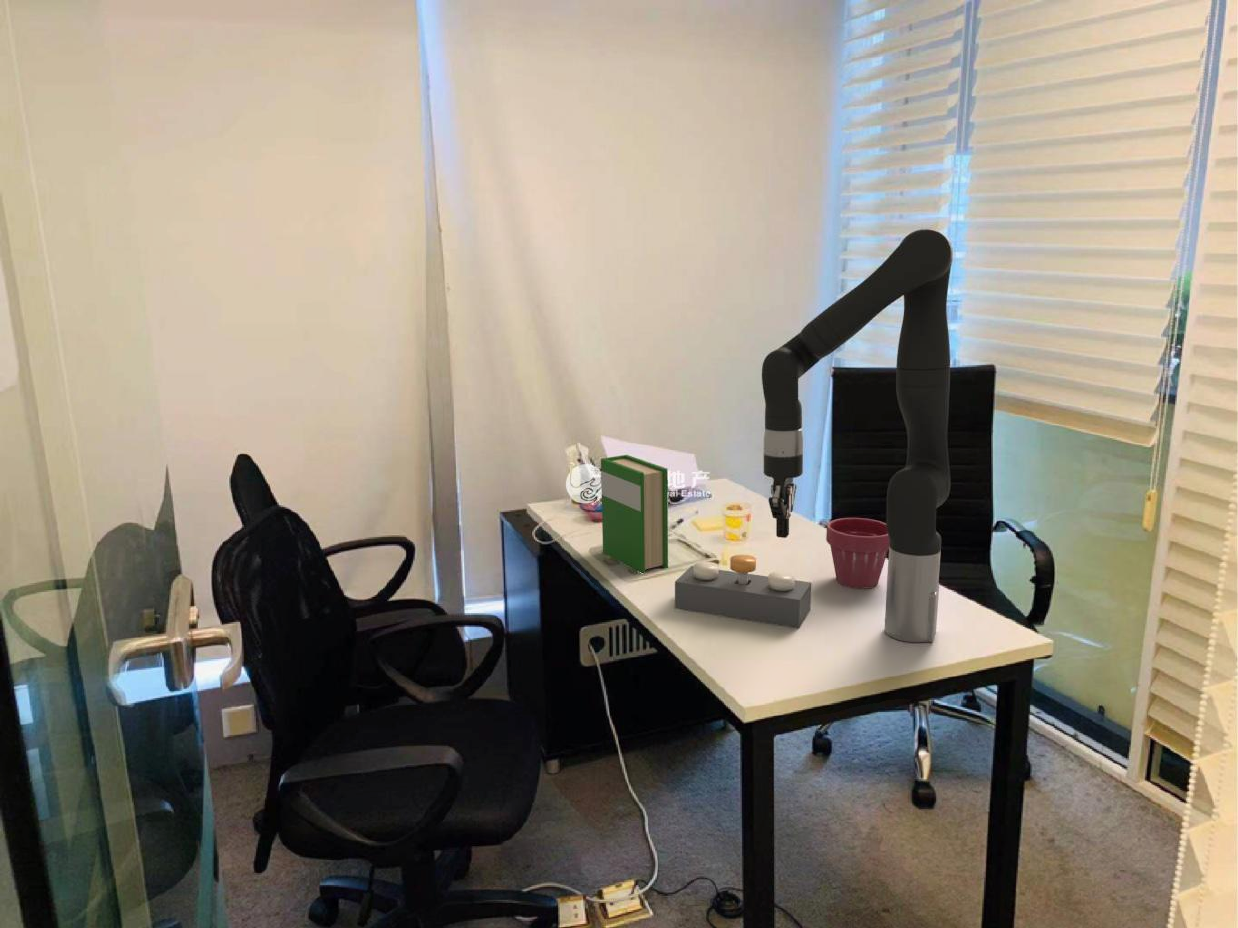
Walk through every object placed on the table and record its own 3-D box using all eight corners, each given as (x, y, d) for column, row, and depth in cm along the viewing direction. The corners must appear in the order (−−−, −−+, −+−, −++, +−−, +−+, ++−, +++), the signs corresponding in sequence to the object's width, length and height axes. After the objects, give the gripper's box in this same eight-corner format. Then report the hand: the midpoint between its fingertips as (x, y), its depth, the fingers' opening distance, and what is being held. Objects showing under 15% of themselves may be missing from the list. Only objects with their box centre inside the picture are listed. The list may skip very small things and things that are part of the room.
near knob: (796, 606, 179) (797, 573, 178) (790, 615, 175) (791, 582, 173) (771, 602, 181) (772, 570, 180) (764, 611, 177) (765, 579, 175)
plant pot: (897, 576, 198) (900, 522, 195) (881, 597, 187) (884, 540, 184) (835, 566, 205) (837, 513, 202) (816, 585, 194) (818, 530, 191)
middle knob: (758, 588, 182) (759, 556, 180) (751, 597, 177) (751, 564, 176) (734, 585, 184) (734, 553, 182) (726, 593, 180) (726, 561, 178)
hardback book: (668, 567, 207) (667, 468, 201) (641, 574, 203) (640, 473, 197) (628, 547, 221) (626, 454, 216) (602, 552, 217) (600, 458, 212)
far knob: (721, 594, 186) (721, 563, 184) (713, 603, 181) (713, 571, 180) (698, 591, 188) (698, 560, 186) (689, 600, 183) (689, 568, 182)
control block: (810, 609, 181) (811, 582, 179) (798, 628, 172) (799, 599, 171) (691, 591, 191) (691, 565, 190) (675, 608, 183) (674, 581, 181)
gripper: (794, 459, 163) (793, 548, 167) (809, 445, 175) (808, 528, 179) (755, 457, 166) (755, 544, 170) (772, 443, 178) (772, 525, 182)
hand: (782, 536), depth 174 cm, fingers closed
